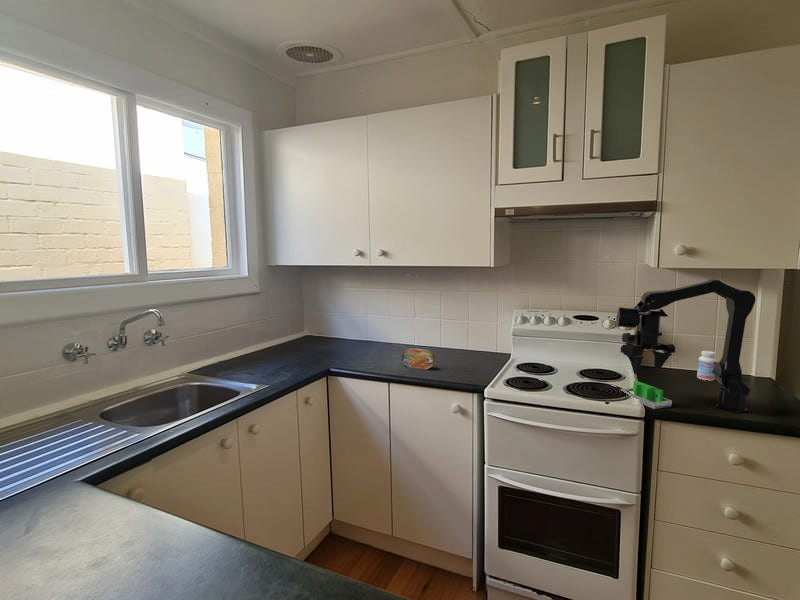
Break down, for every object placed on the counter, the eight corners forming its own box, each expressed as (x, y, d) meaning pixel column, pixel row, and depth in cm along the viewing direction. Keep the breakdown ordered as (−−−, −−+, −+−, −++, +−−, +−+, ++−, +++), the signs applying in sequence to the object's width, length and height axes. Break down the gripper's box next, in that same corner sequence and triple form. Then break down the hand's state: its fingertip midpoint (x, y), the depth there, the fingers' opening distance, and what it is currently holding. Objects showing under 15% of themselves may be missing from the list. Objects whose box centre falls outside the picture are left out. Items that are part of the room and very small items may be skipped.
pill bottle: (699, 380, 177) (701, 353, 176) (695, 376, 183) (697, 349, 181) (716, 382, 175) (719, 354, 174) (712, 377, 181) (715, 351, 179)
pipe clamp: (627, 393, 158) (627, 381, 158) (635, 392, 159) (636, 380, 159) (653, 404, 148) (654, 391, 147) (662, 403, 149) (663, 389, 148)
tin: (401, 366, 195) (401, 347, 194) (404, 364, 198) (404, 346, 197) (433, 370, 188) (433, 351, 187) (435, 369, 191) (436, 350, 190)
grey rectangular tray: (671, 406, 148) (671, 400, 148) (654, 409, 145) (654, 403, 145) (635, 392, 162) (636, 387, 161) (619, 394, 159) (620, 389, 159)
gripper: (650, 323, 161) (647, 364, 163) (609, 325, 155) (606, 368, 157) (678, 328, 150) (674, 373, 152) (635, 331, 145) (632, 377, 147)
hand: (646, 372), depth 152 cm, fingers open, 9 cm apart
